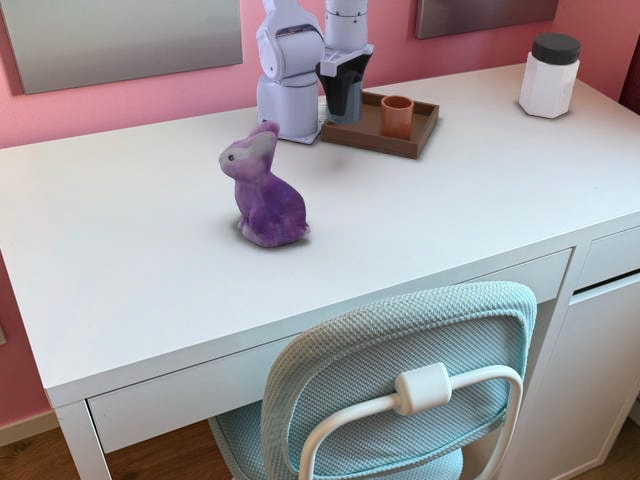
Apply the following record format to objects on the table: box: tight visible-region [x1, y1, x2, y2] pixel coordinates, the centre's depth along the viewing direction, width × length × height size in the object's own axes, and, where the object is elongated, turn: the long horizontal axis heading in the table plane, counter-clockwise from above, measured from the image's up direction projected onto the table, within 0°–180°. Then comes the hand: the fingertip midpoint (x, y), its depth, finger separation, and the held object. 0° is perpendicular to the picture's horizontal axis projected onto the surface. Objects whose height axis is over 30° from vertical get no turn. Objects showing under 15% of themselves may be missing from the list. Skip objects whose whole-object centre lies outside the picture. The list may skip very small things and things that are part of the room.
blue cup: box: [325, 72, 364, 125], centre depth 106 cm, size 5×5×6 cm
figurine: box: [218, 121, 311, 248], centre depth 94 cm, size 9×10×15 cm
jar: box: [518, 32, 582, 120], centre depth 129 cm, size 9×8×12 cm
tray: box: [320, 90, 440, 160], centre depth 122 cm, size 16×15×3 cm
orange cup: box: [379, 94, 414, 141], centre depth 118 cm, size 5×5×6 cm
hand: (343, 106), depth 107 cm, fingers closed on blue cup, 5 cm apart
